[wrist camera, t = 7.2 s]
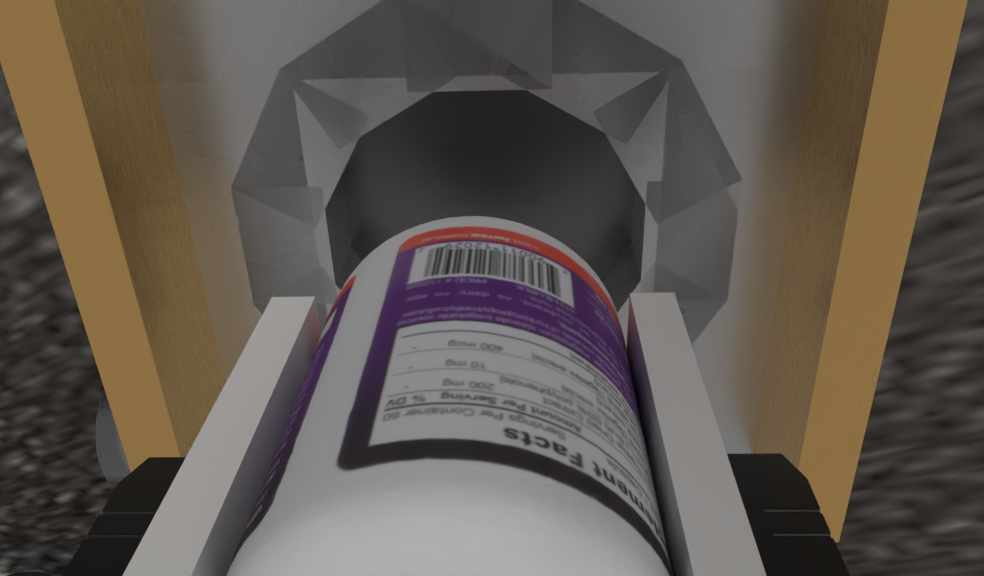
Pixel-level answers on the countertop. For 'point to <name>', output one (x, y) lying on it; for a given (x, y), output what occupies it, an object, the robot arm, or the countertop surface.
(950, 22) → the grey clamp fixture
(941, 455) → the countertop surface
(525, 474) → the pill bottle
